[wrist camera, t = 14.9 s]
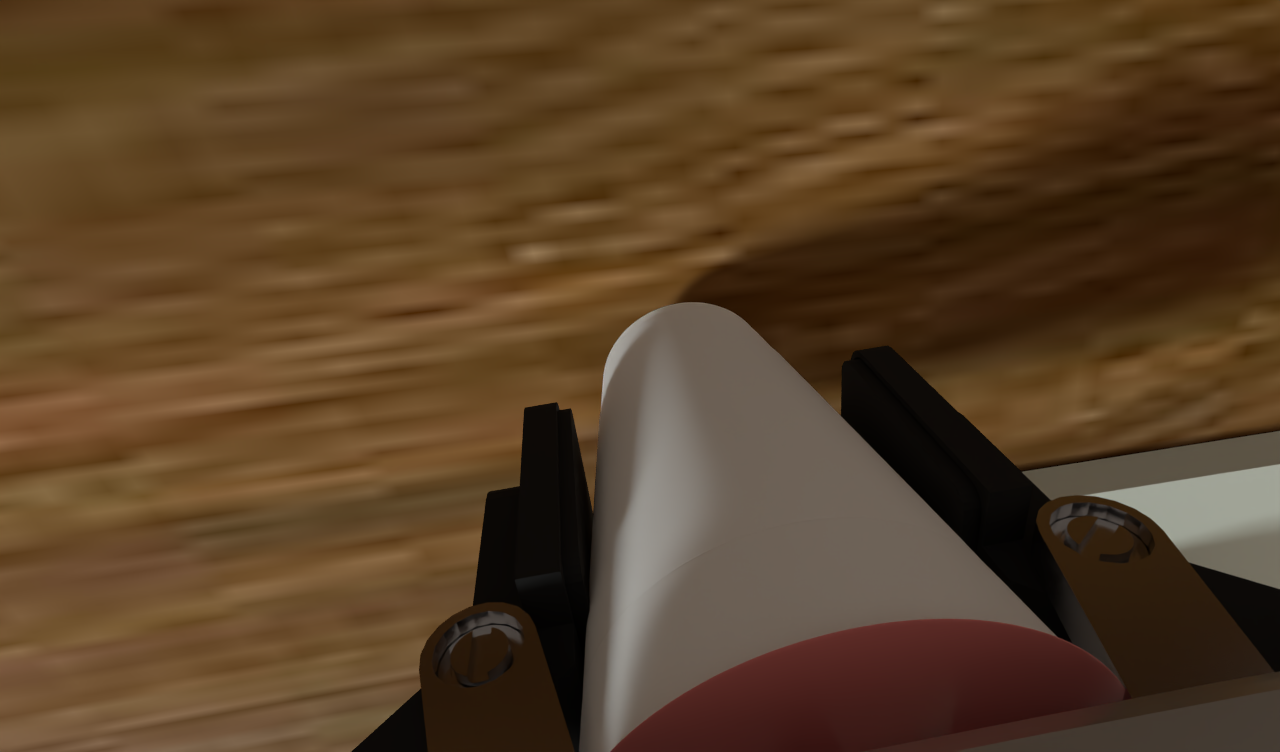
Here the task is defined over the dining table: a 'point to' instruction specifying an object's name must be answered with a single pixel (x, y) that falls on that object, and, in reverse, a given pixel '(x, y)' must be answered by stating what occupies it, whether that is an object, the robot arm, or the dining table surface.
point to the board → (1195, 498)
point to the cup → (784, 571)
